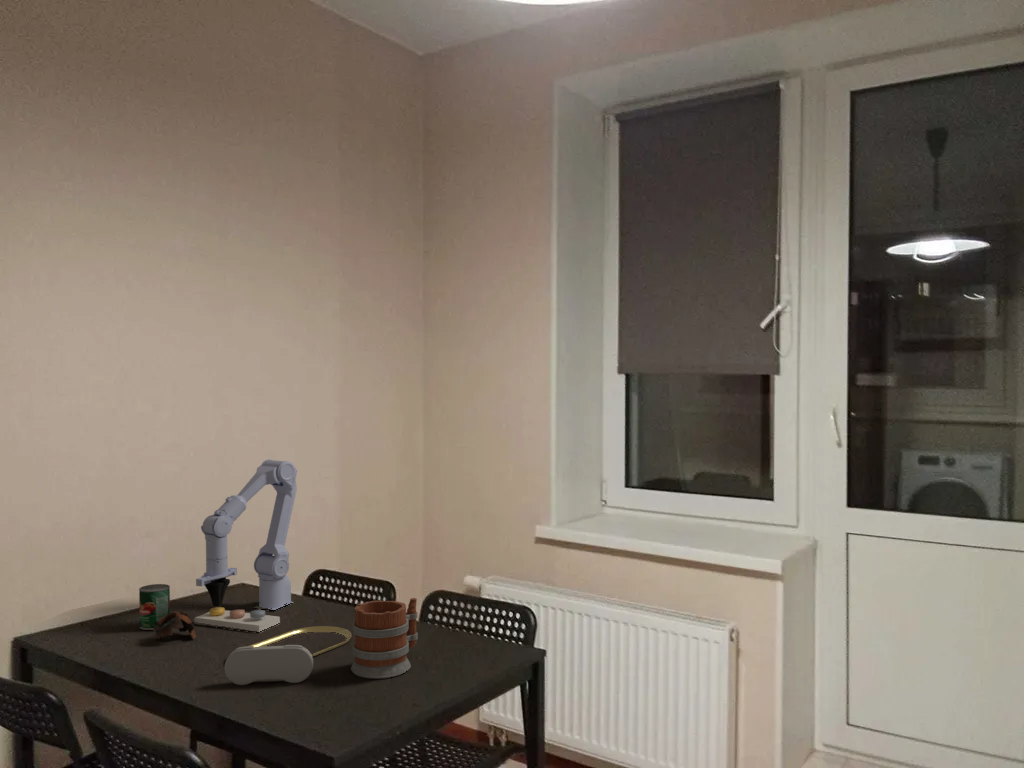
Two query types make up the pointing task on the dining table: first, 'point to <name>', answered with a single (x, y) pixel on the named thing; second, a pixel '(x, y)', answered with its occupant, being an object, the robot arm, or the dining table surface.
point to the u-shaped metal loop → (305, 630)
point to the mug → (383, 638)
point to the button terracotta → (237, 613)
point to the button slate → (257, 613)
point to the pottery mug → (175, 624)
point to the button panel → (239, 621)
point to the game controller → (268, 664)
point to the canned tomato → (154, 604)
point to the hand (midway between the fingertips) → (217, 605)
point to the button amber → (217, 611)
